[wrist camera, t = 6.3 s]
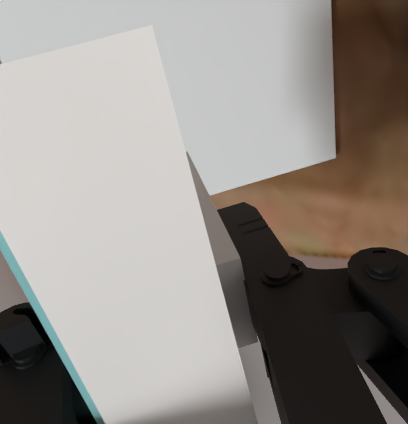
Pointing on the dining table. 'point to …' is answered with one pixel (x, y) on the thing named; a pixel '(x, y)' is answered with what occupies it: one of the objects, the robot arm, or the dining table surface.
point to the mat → (214, 73)
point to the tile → (115, 235)
